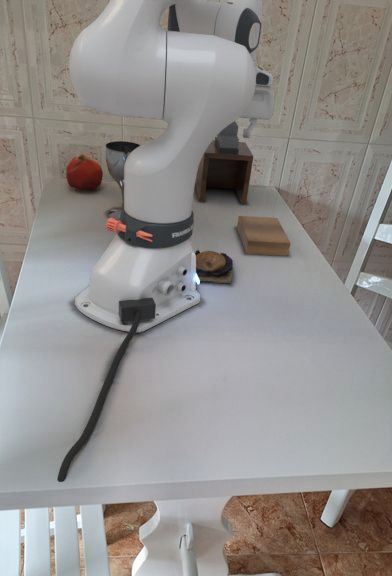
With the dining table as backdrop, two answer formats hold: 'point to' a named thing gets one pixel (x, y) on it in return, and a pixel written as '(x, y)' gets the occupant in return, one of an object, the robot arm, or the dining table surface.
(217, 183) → the open box
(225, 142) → the grey notched block
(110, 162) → the wine glass
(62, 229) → the dining table surface
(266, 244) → the brown wooden block
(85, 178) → the red pomegranate
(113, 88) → the robot arm
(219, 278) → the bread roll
